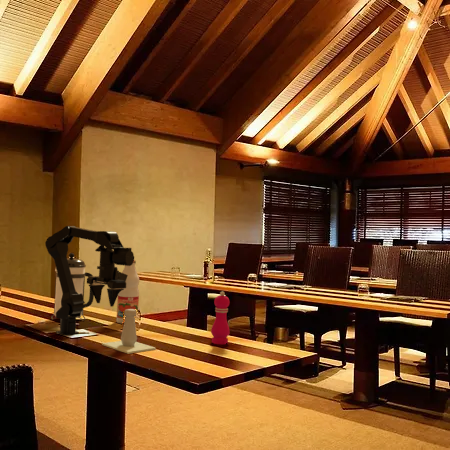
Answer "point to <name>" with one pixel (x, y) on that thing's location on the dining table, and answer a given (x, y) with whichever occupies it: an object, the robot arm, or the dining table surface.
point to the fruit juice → (128, 292)
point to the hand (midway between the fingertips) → (105, 304)
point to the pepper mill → (221, 320)
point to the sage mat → (132, 349)
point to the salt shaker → (129, 328)
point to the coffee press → (78, 279)
